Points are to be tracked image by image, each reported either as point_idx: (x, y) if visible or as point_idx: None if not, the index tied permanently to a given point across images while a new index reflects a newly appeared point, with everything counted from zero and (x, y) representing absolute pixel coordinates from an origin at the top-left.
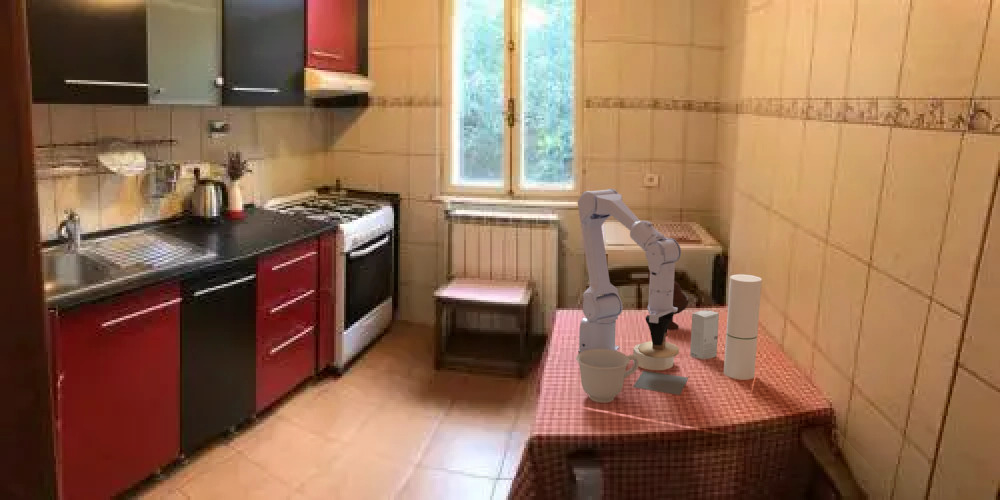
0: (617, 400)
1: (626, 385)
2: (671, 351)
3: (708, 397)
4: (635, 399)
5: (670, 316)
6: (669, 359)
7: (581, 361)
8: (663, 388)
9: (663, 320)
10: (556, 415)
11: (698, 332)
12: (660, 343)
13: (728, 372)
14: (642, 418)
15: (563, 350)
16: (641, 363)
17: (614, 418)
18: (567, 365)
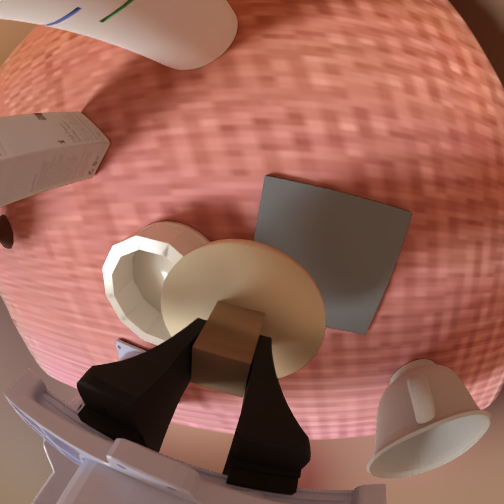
0: (422, 353)
1: (342, 343)
2: (273, 280)
3: (398, 123)
4: (422, 322)
5: (142, 404)
6: (186, 246)
7: (403, 462)
8: (371, 259)
9: (284, 463)
10: None
11: (40, 169)
12: (271, 347)
13: (215, 48)
14: (497, 301)
15: (178, 417)
16: None
17: (486, 346)
18: None
